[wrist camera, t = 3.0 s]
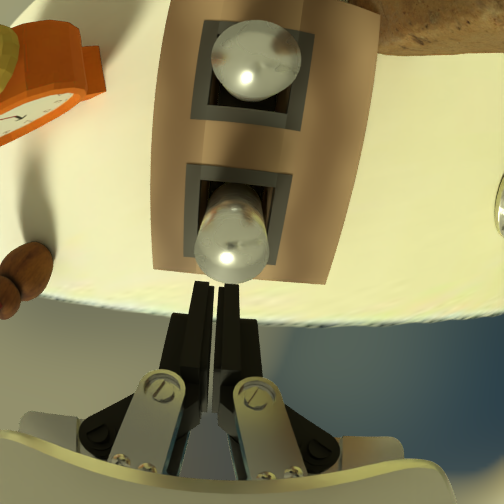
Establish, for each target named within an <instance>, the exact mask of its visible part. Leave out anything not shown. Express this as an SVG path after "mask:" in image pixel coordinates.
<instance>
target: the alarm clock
mask: <svg viewBox="0 0 504 504" xmlns="http://www.w3.org/2000/svg"><path fill="white" fill-rule="evenodd" d="M104 92H106V87H105V82H104V76H103V70H102V64H101V58H100V51H99V46H86V47H82V44H81V36H80V32H79V29H78V28H77V27H75V26H74V25H72V24H71V23H69V22H64V21H56V20H44V21H37V22H30V23H25V24H21V25H18V26H16V27H13V28H10V27H7V26H4V25H1V24H0V146H2V145H5V144H7V143H9V142H11V141H13V140H15V139H17V138H19V137H21V136H23V135H25V134H27V133H29V132H31V131H33V130H35V129H37V128H39V127H41V126H43V125H44V124H46V123H48V122H50V121H52V120H53V119H55V118H57V117H59V116H60V115H62V114H64V113H65V112H67V111H68V110H70V109H71V108H73V107H74V106H75V105H76V104H78V103H79V102H80V101H84V100H88V99H91V98H93V97H95V96H97V95H99V94H101V93H104Z"/></svg>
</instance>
